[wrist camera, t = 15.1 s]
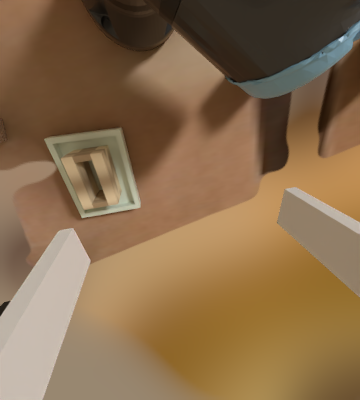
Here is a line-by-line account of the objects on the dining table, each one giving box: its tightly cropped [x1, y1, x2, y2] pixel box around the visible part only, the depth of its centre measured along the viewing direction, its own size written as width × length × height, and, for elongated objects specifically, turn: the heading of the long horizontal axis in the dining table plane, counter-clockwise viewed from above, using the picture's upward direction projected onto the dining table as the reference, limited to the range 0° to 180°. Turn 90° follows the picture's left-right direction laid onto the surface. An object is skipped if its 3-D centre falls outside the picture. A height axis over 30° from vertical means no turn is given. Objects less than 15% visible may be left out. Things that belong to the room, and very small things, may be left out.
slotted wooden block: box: [60, 145, 122, 210], centre depth 33 cm, size 12×6×6 cm, turn 6°
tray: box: [44, 127, 141, 218], centre depth 36 cm, size 17×13×3 cm
